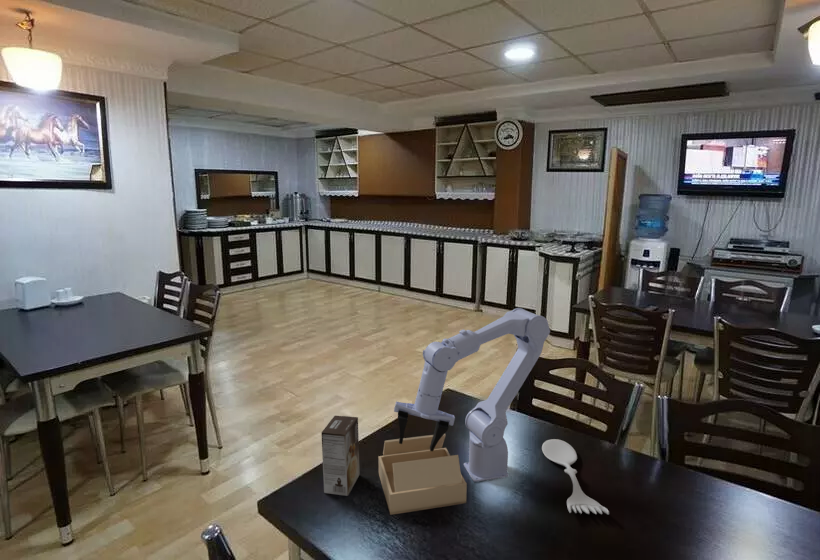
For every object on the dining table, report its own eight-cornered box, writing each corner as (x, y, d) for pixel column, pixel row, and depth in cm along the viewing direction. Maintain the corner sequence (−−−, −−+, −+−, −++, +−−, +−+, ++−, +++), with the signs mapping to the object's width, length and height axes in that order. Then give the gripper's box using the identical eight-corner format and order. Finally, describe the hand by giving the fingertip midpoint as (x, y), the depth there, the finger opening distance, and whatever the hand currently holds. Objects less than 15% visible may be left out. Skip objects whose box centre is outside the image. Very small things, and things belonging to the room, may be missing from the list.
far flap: (441, 447, 123) (441, 446, 123) (445, 435, 119) (445, 433, 119) (383, 455, 119) (383, 453, 120) (385, 442, 116) (384, 440, 116)
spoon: (567, 523, 103) (568, 509, 102) (538, 446, 134) (538, 435, 134) (610, 525, 102) (611, 511, 102) (570, 447, 134) (571, 436, 133)
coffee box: (336, 471, 121) (334, 414, 119) (360, 474, 120) (358, 416, 117) (323, 493, 113) (320, 431, 110) (348, 497, 111) (346, 434, 108)
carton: (445, 465, 124) (445, 447, 123) (466, 503, 109) (466, 483, 108) (378, 474, 120) (378, 456, 119) (390, 514, 105) (390, 494, 104)
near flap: (395, 491, 105) (395, 492, 104) (392, 463, 107) (392, 463, 106) (461, 482, 108) (461, 482, 108) (457, 454, 110) (458, 454, 110)
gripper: (399, 390, 108) (385, 445, 109) (461, 405, 108) (446, 460, 109) (400, 381, 115) (387, 433, 116) (457, 395, 115) (444, 447, 116)
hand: (416, 445), depth 113 cm, fingers open, 7 cm apart
